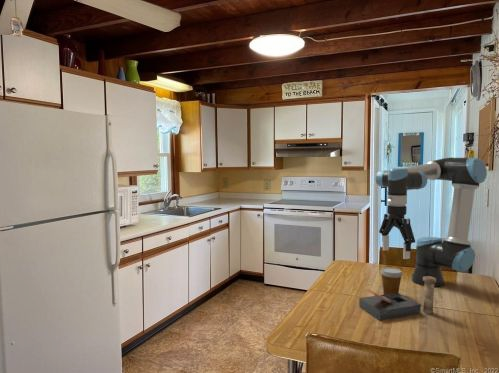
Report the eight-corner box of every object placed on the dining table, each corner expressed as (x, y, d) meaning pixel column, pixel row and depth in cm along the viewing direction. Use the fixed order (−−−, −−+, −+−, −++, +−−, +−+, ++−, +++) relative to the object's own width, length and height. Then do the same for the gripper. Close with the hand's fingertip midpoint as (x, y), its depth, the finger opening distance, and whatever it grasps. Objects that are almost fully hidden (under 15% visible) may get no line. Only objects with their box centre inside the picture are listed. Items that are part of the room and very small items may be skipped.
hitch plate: (397, 301, 168) (397, 292, 167) (420, 313, 154) (420, 304, 154) (359, 306, 162) (359, 298, 161) (379, 320, 148) (380, 311, 148)
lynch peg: (428, 309, 159) (429, 275, 157) (437, 314, 154) (439, 279, 153) (418, 310, 157) (420, 276, 156) (427, 315, 152) (429, 280, 151)
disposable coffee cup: (403, 299, 169) (404, 274, 168) (381, 298, 171) (382, 272, 170) (399, 292, 179) (400, 267, 177) (378, 290, 180) (379, 266, 179)
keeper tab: (383, 299, 160) (384, 296, 160) (392, 304, 155) (393, 301, 155) (366, 290, 157) (367, 287, 157) (374, 295, 152) (376, 292, 152)
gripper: (371, 201, 167) (370, 247, 169) (409, 209, 143) (408, 263, 145) (386, 200, 169) (385, 246, 171) (426, 208, 145) (424, 261, 147)
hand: (395, 254), depth 158 cm, fingers open, 13 cm apart
